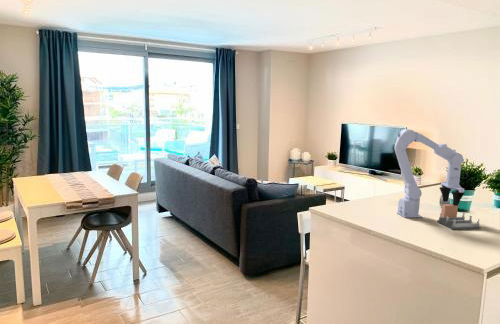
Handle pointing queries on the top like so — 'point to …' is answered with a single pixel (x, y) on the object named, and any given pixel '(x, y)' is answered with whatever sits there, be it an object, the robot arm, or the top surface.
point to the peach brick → (449, 210)
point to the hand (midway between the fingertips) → (450, 203)
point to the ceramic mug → (443, 201)
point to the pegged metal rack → (458, 222)
